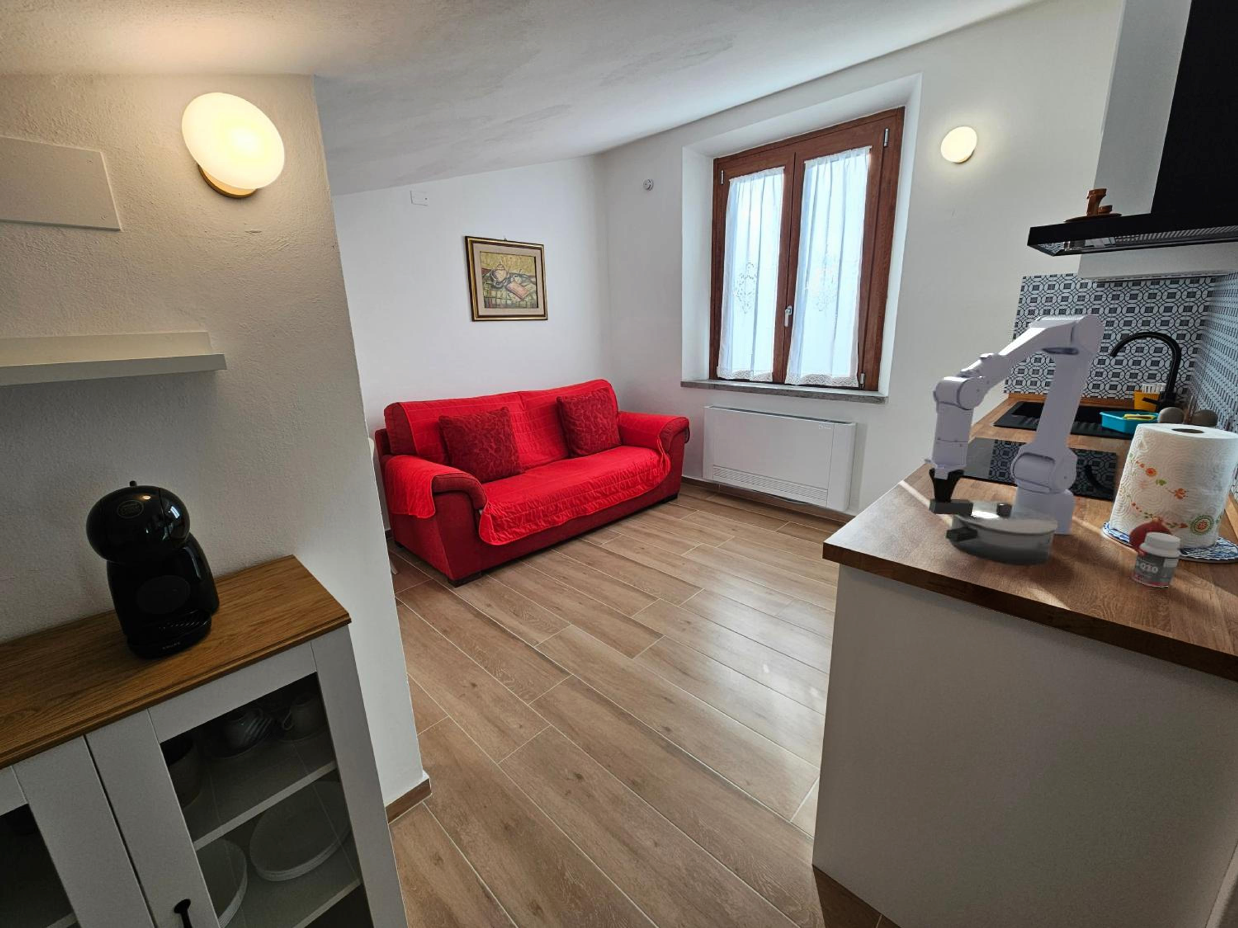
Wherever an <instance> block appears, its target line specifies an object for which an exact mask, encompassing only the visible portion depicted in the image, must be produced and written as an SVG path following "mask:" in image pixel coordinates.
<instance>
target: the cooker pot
mask: <svg viewBox="0 0 1238 928" xmlns="http://www.w3.org/2000/svg"><path fill="white" fill-rule="evenodd" d="M1054 535H1055V534H1054V532H1052V533H1048V534H1041V535H1022V534H1012V533H1005V532H999V531H994V530H989V529H985V528H982V527H978V526H975V525H972V524H969V523H967V522H965V521H962V520H961V519H959V518H957V517H956V516H955V515H952V522H951V527H950V529H947V530H946V533H945V539H947V540H949V542H950V543H951V545H952V546H954V547H955V548H956V549H957V550H959V551H961V552H964V553H966V554H968V555H971V556H973V557H976V558H979V559H983V560H986V561H991V562H995V563H1000V564H1007V565H1015V566H1034V565H1035V566H1036V565H1040V564H1043V563H1045V562H1047V561H1049V557H1050V553H1051V549H1052V543H1053V540H1054V539H1053V538H1054Z"/></svg>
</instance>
